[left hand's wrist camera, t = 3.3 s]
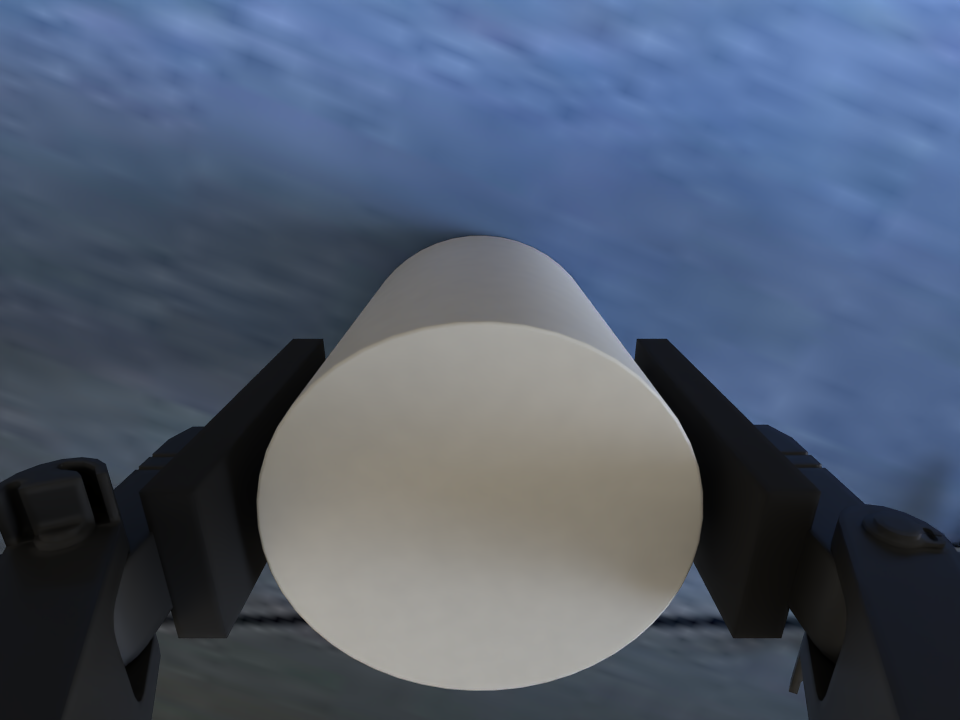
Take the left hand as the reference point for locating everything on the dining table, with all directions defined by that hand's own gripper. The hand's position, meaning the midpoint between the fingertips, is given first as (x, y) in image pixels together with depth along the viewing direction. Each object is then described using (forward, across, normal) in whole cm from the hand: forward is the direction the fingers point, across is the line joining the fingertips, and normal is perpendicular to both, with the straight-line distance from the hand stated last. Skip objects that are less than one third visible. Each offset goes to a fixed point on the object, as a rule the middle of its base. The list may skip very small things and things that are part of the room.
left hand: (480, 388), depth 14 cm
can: (+3, 0, 0) cm, 3 cm away
